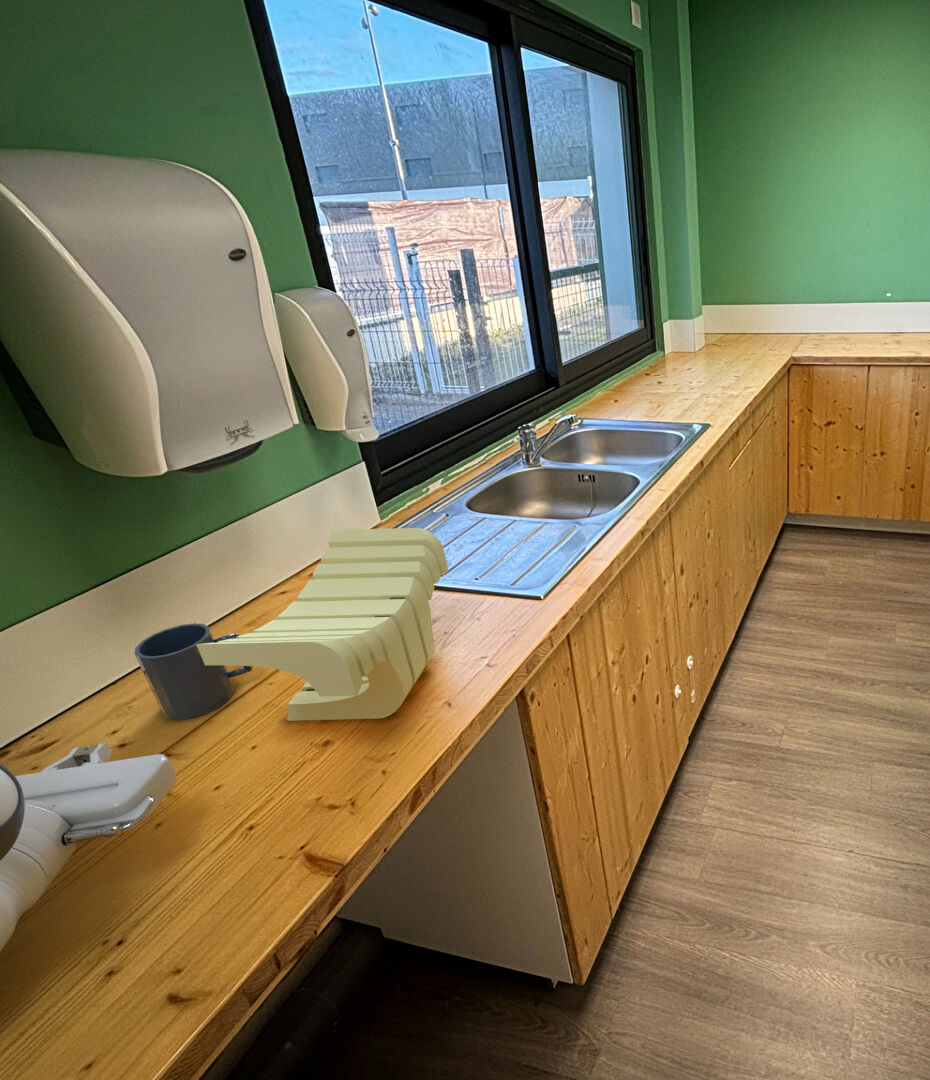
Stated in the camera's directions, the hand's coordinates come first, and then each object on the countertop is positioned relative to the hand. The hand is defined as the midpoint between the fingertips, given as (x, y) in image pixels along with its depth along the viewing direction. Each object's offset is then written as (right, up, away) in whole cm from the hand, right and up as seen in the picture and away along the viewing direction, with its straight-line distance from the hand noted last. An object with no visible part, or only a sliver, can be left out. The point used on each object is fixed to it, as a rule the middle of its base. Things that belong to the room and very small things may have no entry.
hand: (94, 749), depth 77 cm
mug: (-2, +1, +21) cm, 21 cm away
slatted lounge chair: (+19, +2, +22) cm, 29 cm away
